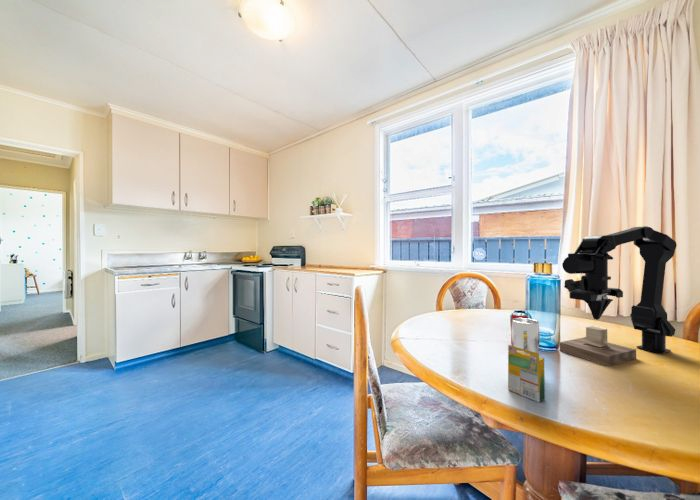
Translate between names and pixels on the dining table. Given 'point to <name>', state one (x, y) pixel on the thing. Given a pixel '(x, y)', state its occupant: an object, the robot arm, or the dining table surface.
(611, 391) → the dining table surface
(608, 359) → the walnut board
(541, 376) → the crayon box
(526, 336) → the white box
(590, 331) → the maple peg
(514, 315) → the beverage can
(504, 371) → the dining table surface
